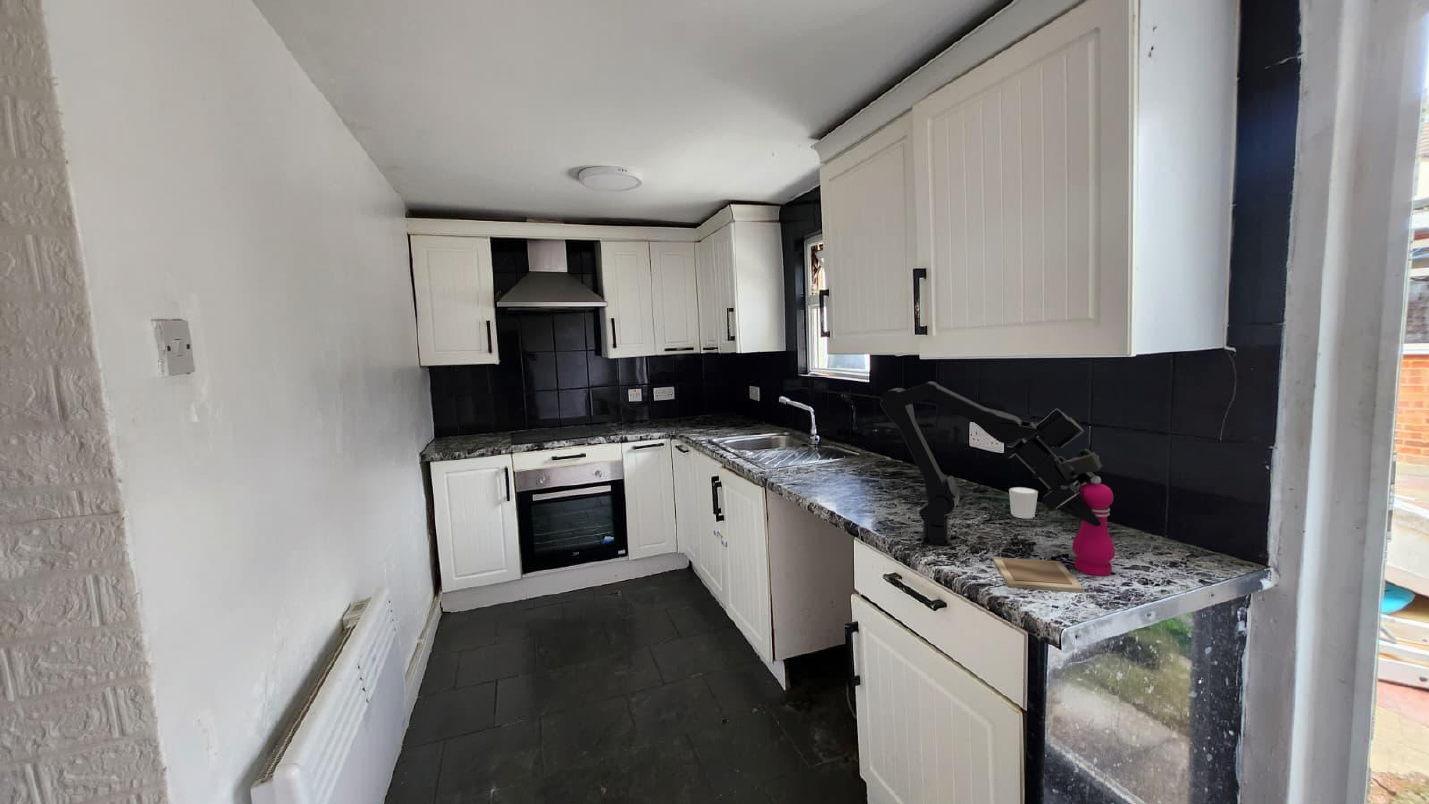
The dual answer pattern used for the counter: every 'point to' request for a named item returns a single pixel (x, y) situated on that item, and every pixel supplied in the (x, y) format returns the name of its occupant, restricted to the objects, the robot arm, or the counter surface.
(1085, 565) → the pepper mill
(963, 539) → the counter surface
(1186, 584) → the counter surface
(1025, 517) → the white cup
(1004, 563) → the beech tray
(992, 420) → the robot arm
